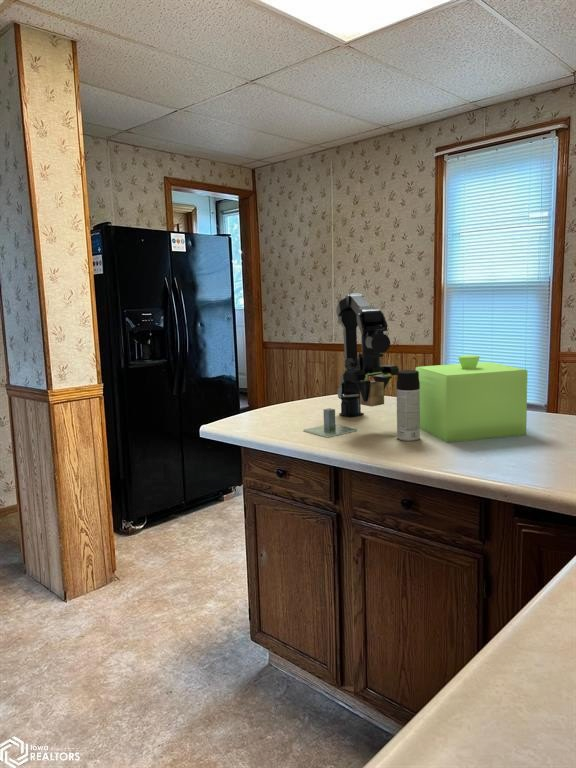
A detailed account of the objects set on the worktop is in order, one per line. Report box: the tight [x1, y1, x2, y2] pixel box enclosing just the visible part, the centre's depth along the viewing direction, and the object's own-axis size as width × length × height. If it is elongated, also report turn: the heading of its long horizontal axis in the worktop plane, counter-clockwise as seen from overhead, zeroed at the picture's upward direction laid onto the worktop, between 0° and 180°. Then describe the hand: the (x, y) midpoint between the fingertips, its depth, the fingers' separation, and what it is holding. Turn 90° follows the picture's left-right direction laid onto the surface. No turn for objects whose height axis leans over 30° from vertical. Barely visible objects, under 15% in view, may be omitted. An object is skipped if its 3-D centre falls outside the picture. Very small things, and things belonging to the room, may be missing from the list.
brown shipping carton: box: [360, 380, 385, 407], centre depth 179 cm, size 5×5×7 cm
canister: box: [415, 354, 528, 443], centre depth 175 cm, size 25×21×23 cm
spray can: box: [396, 369, 421, 442], centre depth 169 cm, size 7×7×20 cm
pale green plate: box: [303, 407, 358, 438], centre depth 183 cm, size 12×12×7 cm
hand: (372, 400), depth 179 cm, fingers closed on brown shipping carton, 5 cm apart
